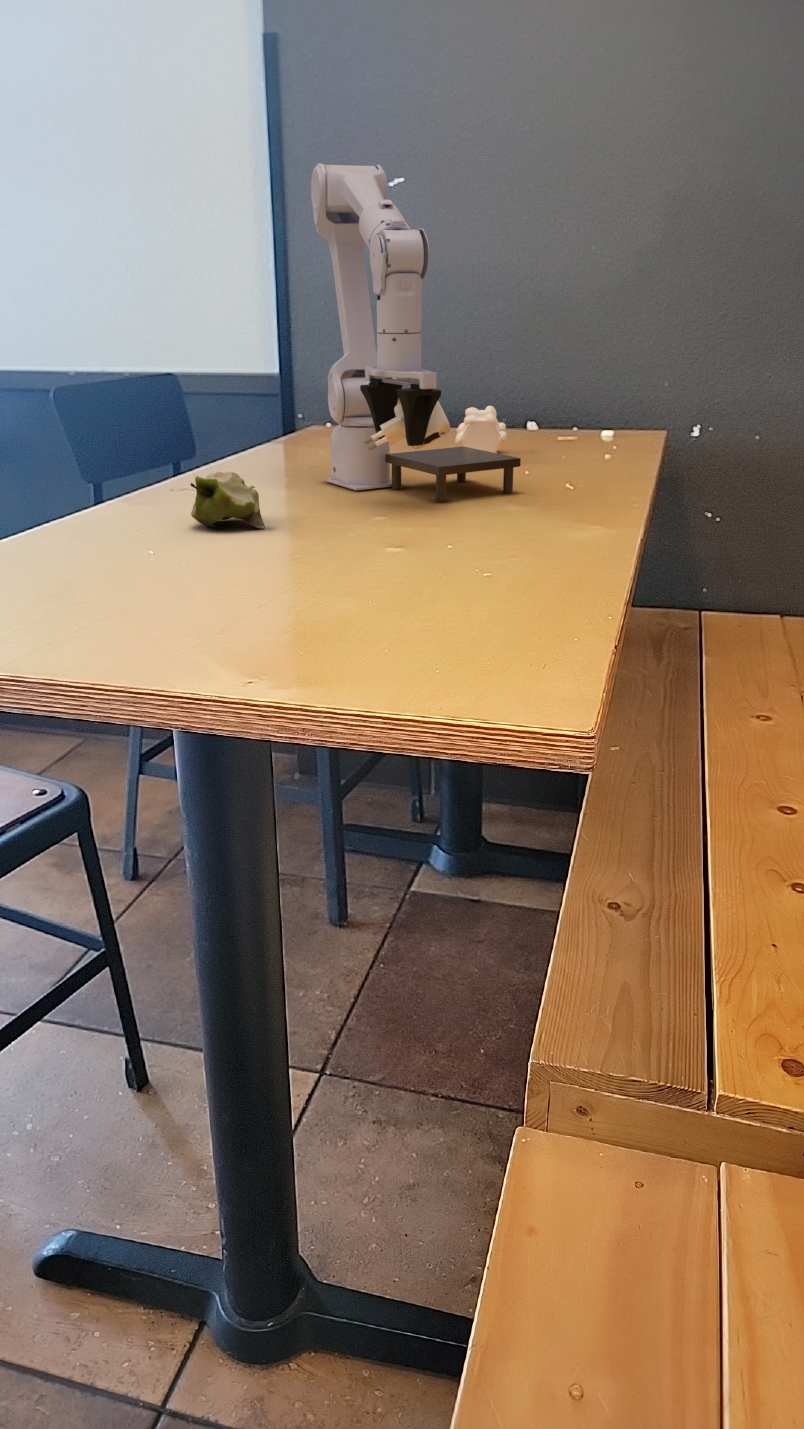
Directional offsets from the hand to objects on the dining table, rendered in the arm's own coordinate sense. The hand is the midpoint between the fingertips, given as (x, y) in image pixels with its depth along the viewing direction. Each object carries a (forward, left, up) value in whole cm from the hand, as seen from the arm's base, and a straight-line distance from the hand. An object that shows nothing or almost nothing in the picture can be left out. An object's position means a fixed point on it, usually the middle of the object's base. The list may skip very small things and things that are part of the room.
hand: (399, 441), depth 141 cm
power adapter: (+2, +1, -1) cm, 2 cm away
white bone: (-29, +34, -9) cm, 46 cm away
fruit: (-2, -25, -9) cm, 26 cm away
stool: (-6, +12, -9) cm, 16 cm away
